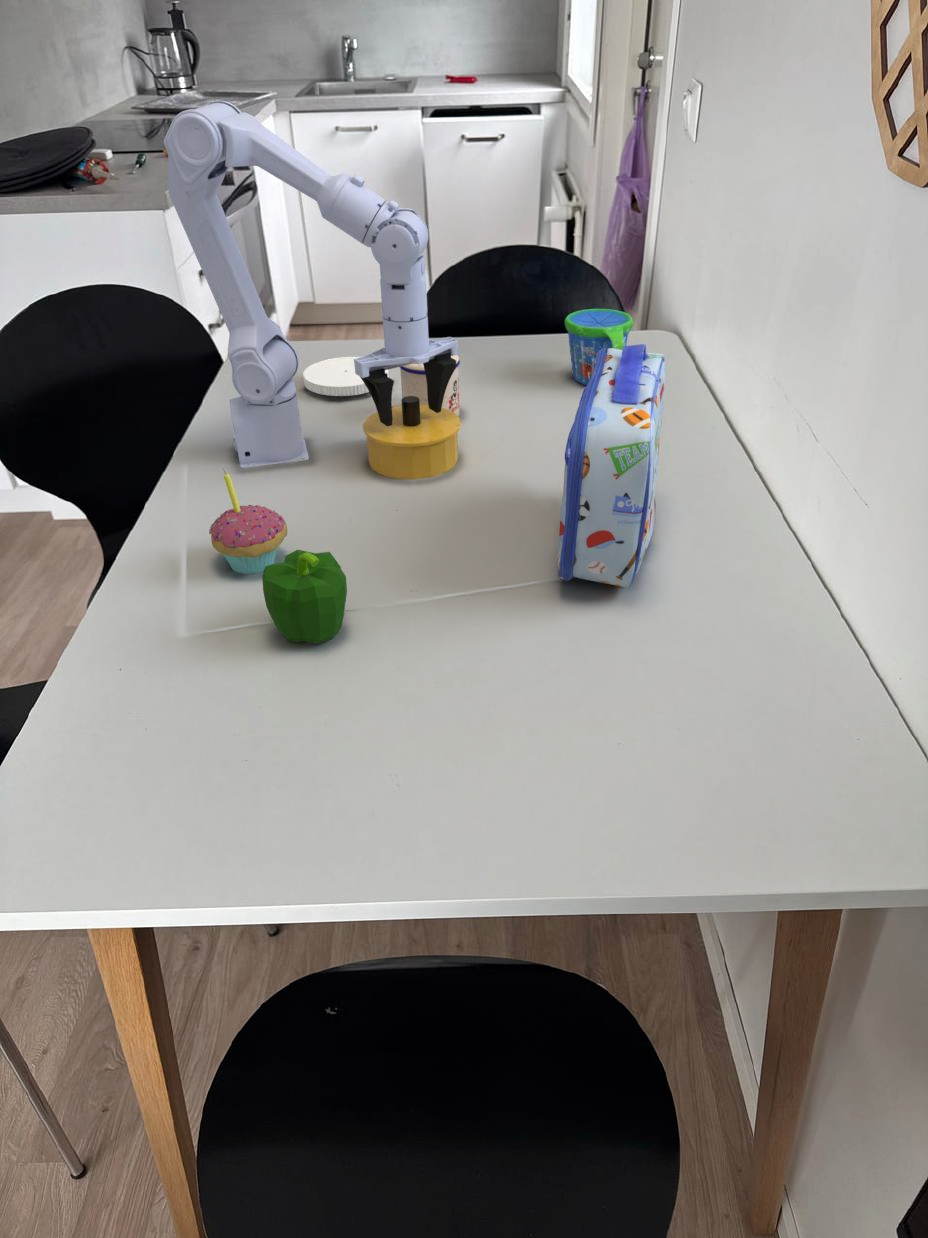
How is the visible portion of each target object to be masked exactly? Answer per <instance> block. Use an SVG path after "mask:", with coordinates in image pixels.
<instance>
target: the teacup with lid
mask: <svg viewBox="0 0 928 1238" xmlns="http://www.w3.org/2000/svg"><path fill="white" fill-rule="evenodd" d="M429 340H432V339H431V338H429ZM451 358H453V359H455V360H456V369H455V371H454V372H453V374H452V376H451V378H450V380H449V382H448V385H447V388H446V391H445V394H444V399H443V403H442V408H444V409H447V410H450V411H452V412H453V413H455V414H456V415H457V416H458V417H459V416H460V413H461V411H460V377H459V376H460V375H459V366H460V363H461V361H460V357H459V356H458V355H455V356H451ZM399 368H400V369H399V371H400V383H401V384H400V385H401V399H402V398H404V397H407V396H416V397H418V398H419V401H420V405H428V396H427V381H426V375H425V370H424V365H423V363H421V364H414V363H413V364H409V365H405V366H401V367H399Z"/></svg>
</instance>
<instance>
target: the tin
mask: <svg viewBox="0 0 928 1238" xmlns="http://www.w3.org/2000/svg"><path fill="white" fill-rule="evenodd" d="M458 432H459V431H458ZM458 432H457V433H456V434H455V435H454V436H452V437H450V438H449V439H446V440H444V441H441V442H438V443H435V444H430V445H425V446H416V447H399V446H390V445H385V444H381V443H378V442H375V441H373V440H371V439H370V438H368V437H367V436H366V435H365V436H366V447H367V459H368V464H369V466H370V469H371V470H372V471H374V472H376V473H377V474H379V475H380V476H384V477H389V478H392V479H398V480H419V479H428V478H432V477H436V476H439V475H442V474H445V473H447V472H448V471H450V470H451V469H453V468H454V467H455V466H456V465H457V463H458V460H459V439H458V437H459V435H458Z"/></svg>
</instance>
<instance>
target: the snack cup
mask: <svg viewBox="0 0 928 1238" xmlns="http://www.w3.org/2000/svg"><path fill="white" fill-rule="evenodd" d="M564 326H565V329H566V331H567V334H568V344H569V355H570V363H571V371H572V378H573V379H574V381H576V382H578V383H581V384H582V385H584V386H587V384H588V383H589V377H588V372H590V374H591V376H592V374H593V371H594V363H595V360H596V354H597V353H598V351H599V350H601V349H608V348H614V349H618V350H623V346H627V344H628V337H629V333H630V332H631V330H632V328H633V326H634V320H633V317H632V316H631V315H630V314H629V313H627V312H624V311H621V310H617V309H611V308H610V309H609V308H590V309H589V308H587V309H580V310H577V311H574V312H571V313H569V314H568V315H567V316H566V317H565V319H564Z"/></svg>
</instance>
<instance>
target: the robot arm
mask: <svg viewBox="0 0 928 1238" xmlns="http://www.w3.org/2000/svg"><path fill="white" fill-rule="evenodd" d="M163 146H164V147H165V150H166V152H167V159H168V161H167V163H168V164H167V165H168V166H167V167H168V171H167V173H168V175H167V178H168V180H167V182H168V184H167V185H168V189H167V190H168V194H169V198H170V201H171V202H172V205H173V207H174V209H175V211H176V214H177V216H178V218H179V221H180V223H181V225H182V227H183V230H184V233H185V235H186V236H187V239H188V241H189V244H190V246H191V248H192V250H193V253H194V255H195V257H196V260H197V262H198V264H199V267H200V269H201V271H202V273H203V276H204V278H205V281H206V283H207V285H208V287H209V288H210V291H211V294H212V296H213V299H214V301H215V303H216V306H217V308H218V310H219V312H220V314H221V317H222V319H223V321H224V323H225V326H226V327H227V331H228V334H229V335H228V336H229V337H228V344H227V357H228V359H229V362H230V365H231V370H232V372H231V379H232V384H233V387H234V389H235V390H236V393H238V394H239V395H240V396H238V397H233V398H229V407H230V413H231V421H232V427H233V433H234V438H233V445H234V446H233V447H234V451H235V452H237V455H238V462H239V467H240V468H242V469H243V468H251V467H259V466H268V465H269V466H270V465H274V464H275V465H276V464H277V465H278V464H284V463H294V462H302V461H308V460H309V459H310V457H309V451H308V448H307V443H306V440H305V438H304V437H303V433H302V432H303V431H302V424H301V423H302V422H301V416H300V409H299V401H298V392H297V388H296V385H295V381H294V377H295V375H296V374H297V372H298V371H299V367H300V357H299V354H298V351H297V349H296V347H295V346H294V345H293V344H292V343H291V342H290V341H289V340H288V339H287V338H286V337H285V335H284V333H283V331H282V328H281V327H280V325H279V324H278V323H277V322H275V321H274V320H272V319H270V318H269V317H268V316H267V313H266V310H265V308H264V305H263V303H262V300H261V298H260V296H259V294H258V291H257V289H256V286H255V284H254V281H253V278H252V277H251V274H250V271H249V270H248V267H247V264H246V262H245V259H244V257H243V255H242V252H241V250H240V247H239V245H238V243H237V240H236V238H235V235H234V234H233V231H232V228H231V225H230V224H229V221H228V218H227V216H226V213H225V210H224V208H223V206H222V204H221V201H220V199H219V195H218V194H219V191H220V188H221V185H222V183H223V181H224V179H225V176H226V174H227V171H228V170H229V168H236V167H257V168H260V169H261V170H263V171H265V172H266V173H268V174H270V175H272V176H273V177H275V178H277V179H278V180H280V181H282V182H283V183H285V184H286V185H289V186H290V187H292V188H294V189H295V190H297V191H298V192H301V193H302V194H304V195H305V196H307V197H309V198H310V199H312V200H314V201H315V202H316V204H317V206H318V210H319V212H320V215H321V217H322V219H324V220H326V221H327V222H329V223H330V224H332V225H333V226H335V227H336V228H337V229H339V230H341V231H342V232H344V233H345V234H347V235H348V236H349V237H351V238H353V239H354V240H356V241H357V242H359V243H361V244H362V245H364V246H365V247H367V248H370V250H371V253H372V256H373V258H374V260H375V261H376V263H378V264H379V275H380V279H379V284H380V297H381V311H382V312H381V314H382V326H383V327H382V329H383V330H382V331H383V342H384V347H382V348H380V349H378V350H375V351H373V352H371V353H369V354H366V355H364V356H359V357H360V358H357V359H354V365H355V374H357V375H358V376H360V378H361V379H362V380H363V382H364V384H365V385H366V387H367V389H368V390H369V392H368V393H369V394H370V397H371V398H372V400H373V403H374V405H375V406H374V407H375V408H376V412H378V415H379V418H380V422H381V423H383V424H384V425H386V426H391V425H392V420H393V417H392V407H393V406H392V401H393V400H392V399H393V390H394V389H393V388H394V384H395V380H393V379H392V378H390V377H389V378H388V376H387V373H385V370H389V371H390V370H392V369H396V368H400V367H401V366H405V365H409V364H413V363H414V364H421V363H423V365H424V370H425V375H426V381H427V396H428V405H429V409H431V410H433V411H434V412H436V413H439V412H441V408H442V403H443V399H444V394H445V391H446V388H447V385H448V382H449V380H450V378H451V376H452V374H453V372H454V371H455V369H456V360H455V359H453V358H451V356H455V355H457V356H458V355H459V340H458V339H456V338H454V337H452V336H447V337H442V338H432V339H431V340H429V339H430V338H429V337H430V335H429V317H428V292H427V291H428V290H427V277H426V264H425V255H423V253H424V251H425V249H426V248H427V245H428V241H429V229H428V226H427V224H426V222H425V220H424V219H423V218H422V216H420V215H419V214H418V213H417V212H416V211H415V209H413V208H408V207H401V208H399V207H400V205H399V203H397V202H396V201H395V200H391V201H388V200H387V199H385V198H383V197H382V196H381V195H378V193H376V192H375V191H373V190H371V189H370V188H368V187H367V186H365V183H366V179H364V178H363V177H362V176H360V175H359V174H357V173H356V174H354V175H353V176H351V175H349V174H348V173H344V172H343V173H340V174H337V175H331V174H329V173H328V172H326V171H325V170H324V169H322V167H320V166H318V165H317V163H314V162H313V161H312V160H310V159H309V158H308V157H306V156H304V155H303V154H302V153H301V152H299V151H298V150H297V149H295V148H294V147H292V145H291V144H289V143H287V141H284V139H282V138H280V136H278V135H277V134H275V133H274V132H273V131H271V130H270V129H268V128H267V127H266V126H265V125H263V124H262V123H261V122H260V121H259V120H258V119H257V118H256V117H255V116H254V115H252V114H250V113H247V112H245V111H243V112H242V111H241V110H240V108H238V107H237V106H236V105H235V104H233V103H231V102H229V101H225V100H214V101H212V102H210V103H208V104H207V105H203V106H201V107H196V108H194V109H193V108H191V109H186V110H183V111H181V112H179V113H178V114H176V115H175V117H174V118H173V120H172V121H171V123H170V125H169V127H168V130H167V132H166V135H165V137H164V139H163Z"/></svg>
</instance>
